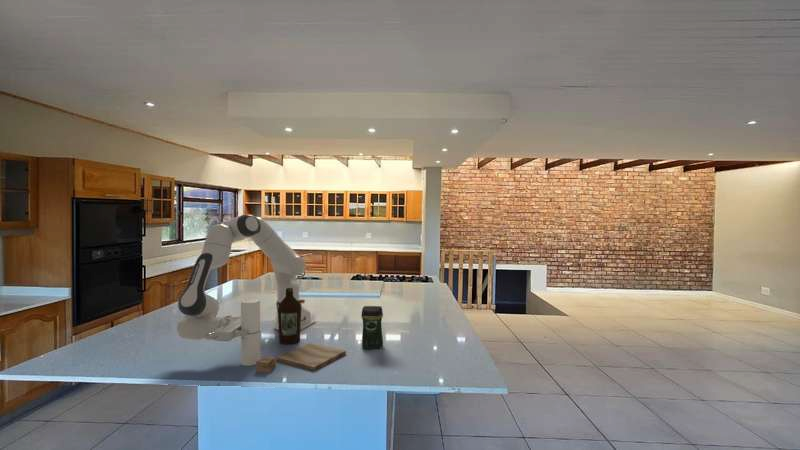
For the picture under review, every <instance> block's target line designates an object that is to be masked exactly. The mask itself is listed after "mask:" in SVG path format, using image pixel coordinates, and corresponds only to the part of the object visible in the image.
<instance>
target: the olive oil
mask: <svg viewBox="0 0 800 450" xmlns="http://www.w3.org/2000/svg"><path fill="white" fill-rule="evenodd" d="M301 305H302V304H301ZM301 305H300V303H299V302H298V301H297V300H296V299H295V298H294V297H293V288H286V297H285V298H284V299H283V300H282V301H281V303H280V304H279V306H278V323H279V330H278V340H279V341H278V342H279V343H280V345H294V344H297V343H299V342H300V341H301V330H300V324H301Z"/></svg>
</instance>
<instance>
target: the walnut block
mask: <svg viewBox="0 0 800 450" xmlns="http://www.w3.org/2000/svg"><path fill="white" fill-rule="evenodd" d="M276 362H277V360H276V357H271V356H263V357H260V360H258V361H256V364H255V366H256V372H259V373H267V374H268V373H270V372H271V371H273V370H274V369H276V367H277V366H276V365H277V364H276Z"/></svg>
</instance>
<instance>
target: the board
mask: <svg viewBox="0 0 800 450" xmlns="http://www.w3.org/2000/svg"><path fill="white" fill-rule="evenodd" d="M346 351H347V350H344V349H341V348H336V347H332V346H331V347H330V346H326V345H321V344H318V343H314V342H309V343H307V344H303V345H302V346H299V347H297V348H294V349H293V350H290V351H288V352H286V353H283V354H281V355H279V356H276V362H279V363H283V364H286V365H290V366H294V367H298V368H302V369H306V370H307V371H308V370H309V371H313V372H315V371H317V370H319V369H320V368H322V367H324V366H326V365H328V364H330V363H332V362H334V361H335V360H338V359H339V358H341V357H343V356H345V355H346V354H347V352H346Z"/></svg>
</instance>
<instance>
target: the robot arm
mask: <svg viewBox="0 0 800 450" xmlns="http://www.w3.org/2000/svg"><path fill="white" fill-rule="evenodd" d="M247 238H250V239H251V240H252V241H253V243H254V244H255V245H256V246H257V247H258V248H259V249H260V250H261V251H262V253H263V254H264V255H265V256H266V257H268V258H269V259H270V264H271V267H272V269H273V273H274V277H275V282H276V292H277V293H276V294H277V295H276V296H277V300H276V316H275V323H274V328H273V329H274V330H276V331H279V323H278V306H279V304H280V303H281V301H282V300H283V299H284V298H285V297H286V288H293V297H294V298H295V299H296V300H297V301H298V302H299V303H300V305H301V324H300V331H301V330H303V329H305V328H307V327H309V326H312V325H313V324H315V323H316V320H315V319H314V318H312V315H311V311H310V310H308V309H307V308H305V306H303V305H302V304H305V303H306V299H304V298H303V299H302V298H301V299H300V285H299V283H298V280H297V276H299V275H302V274H303V273H304V272H305V271H306V266H307V263H306V261H305V259H304V258H303V257H301V256H300V255H299V254H298V253H297V252H296V251H295V250H294V249H293V248H291V247H290V246H289V245H288V244H287V243H285V241H284V240H283V239H282V238H281V237H280V235H279V234H278V233H277V232H276V231H275V230H274V229H273V227H272V226H271V225H270V224H269V223H268V222H267V221H265V220H264V219H263V218H262V217H259V216H255V215H253V214H247V213H246V214H242V215H239V216H235V217H233V218H231V219H229V220H227V221H225V222H223V223H218V224H213V225H212V226H210V228H209V230H208V232H207V234H206V237H205V240H204V244H203V247H202V250H201V254H200V255H199V256H198V257H197V258H196V260H195V264H194V266H193V268H192V270H191V273H190V277H189V278H188V279H189V280H188V281H187V284H186V287H184V288H185V289H184V290H183V291H182V293H181V295H180V296H179V299H178V301H177V302H178V303H177V307H178V310H179V311H180V312H181V314H183V315H184V316H183V317H182V318H180V319H179V320H178V321H177V324H176V332H177V335H178V336H179V337H180V338H182V339H185V340H193V341H194V340H195V341H200V340H208V341H216V342H230V341H232V340H234V339H235V338H237V337H241V336H246V335H248V334H249V333H248V332H249V331H248V330H243V331H241V316H233V315H225V316H223V317H222V316H220V317H217V315H218V312H219V309H220V305H219V304H220V303H219V301H218V299H216V298H215V297H214V296H211V295H209V294H207V293H206V292H205V287H206V284H207V281H208V277H209V275H210V272H211V270H213V269H218V268H220V267H223V266H225V265H226V264H227V263H228V261H229V258H230V256H231V251H232V250H231V249H232V244H233V243H236V242H241V241H243V240H245V239H247Z"/></svg>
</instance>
